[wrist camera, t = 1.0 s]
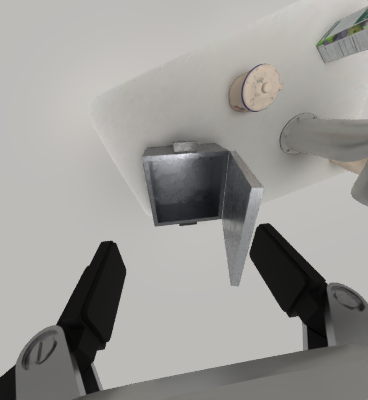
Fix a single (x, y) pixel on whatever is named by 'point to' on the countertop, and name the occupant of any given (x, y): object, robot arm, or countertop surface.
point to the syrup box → (346, 37)
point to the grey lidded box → (186, 182)
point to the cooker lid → (239, 213)
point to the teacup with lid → (255, 89)
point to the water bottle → (352, 165)
